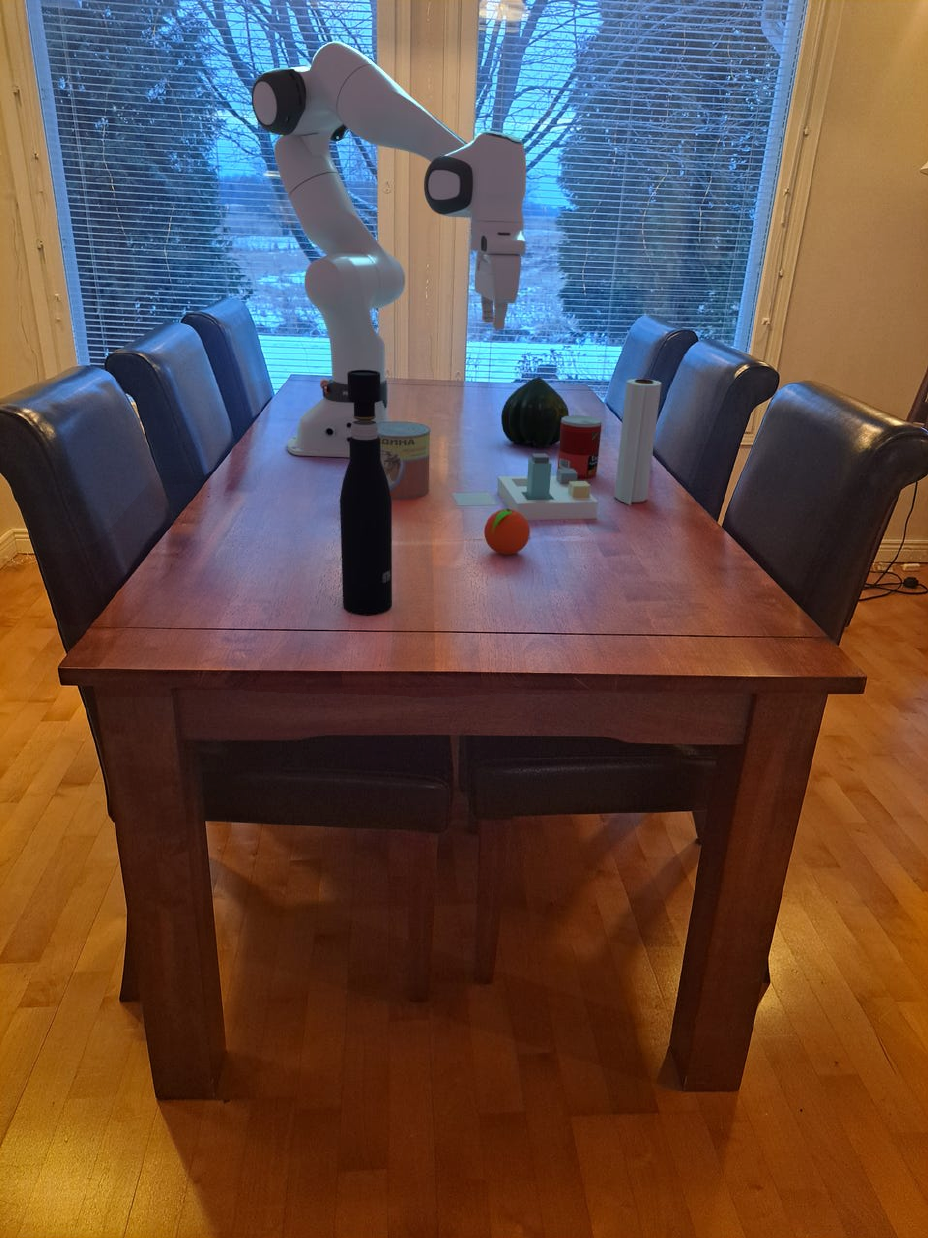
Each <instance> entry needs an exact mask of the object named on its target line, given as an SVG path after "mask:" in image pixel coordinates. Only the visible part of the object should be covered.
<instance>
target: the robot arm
mask: <svg viewBox="0 0 928 1238" xmlns="http://www.w3.org/2000/svg"><path fill="white" fill-rule="evenodd" d="M251 90H252V91H251V104H252V105H251V106H252V110H253V114H254V116H255V118H256V120H257V122H258V123H259V125H260V127H261V128H262V129H263V130H264V131H266V132H268V133H270V134H274V135H276V136H279V137H278V138H277V139H276V142H275V144H274V150H273V152H274V154H273V155H274V158H275V162H276V166H277V170H278V174H279V176H280V179H281V183H282V185H283V188H284V191H285V193H286V195H287V197H288V199H289V201H290V205H291V206H292V209H293V211H294V214H295V215H296V217H297V220H298V222H299V225H300V226H301V228H302V231H303V234H305V236H306V237H307V239H308V240H309V241H310V242H311V243H312V244H314V245H316V247H318V248H319V249H320V250H321V251H322V252H323V253H324V254H325V255H324V256H321V257H320V258H317V259H316V260H314V261H312V262H311V263H310V264H309V266H308V267H307V269H306V271H305V275H304V289H305V293H306V295H307V296H306V297H307V298H308V299H309V302H310V303H311V304H312V305H313V306H314V307H315V308H316V309H317V310H318V312H319V313H320V315H321V317H322V319H323V322H324V324H325V327H326V331H327V335H328V339H329V345H330V346H329V347H330V359H331V361H330V362H331V379H329V380H328V379H327V378H322V379H321V380H320V382H319V387H320V388H321V389H322V397H323V398H322V399H320V400H319V401H318V402H317V403H315V404H314V405H313V406H312V407H310V408H308V410H306V411H305V412H304V413H303V414H302V416H301V417H300V419H299V422H298V425H297V431H296V435H295V436H292V437H290V438H289V439H288V441H287V443H286V444H287V446H286V447H287V451H288V452H289V453H290V454H292V455H295V456H307V457H310V456H311V457H331V458H333V457H335V458H350V449H349V438H350V437H351V436H352V434H351V431H352V428H351V425H352V422H353V421H355V420H357V419H355V418H354V417H353V415H354V402H350V401H348V382H347V373H348V372H349V371H353V370H373V371H377V372H379V373H380V386H381V396H380V397H381V400H380V401H379V402H376V403H375V415H376V417H375V418H374V419H372V420H373V421H376V422H377V423H381V422H388V415H387V408H388V404H389V400H388V399H389V390H388V389H389V388H388V382H387V380H386V356H385V355H386V347H385V342H384V339H382V337H381V335H380V334H378V333H377V331H376V329H375V327H374V324H373V319H372V316H371V315H372V314H371V310H375V309H381V308H384V307H386V306H389V305H390V304H392V303H394V302H395V301H397V300H398V299H400V297H401V296H402V295H403V292H404V290H405V287H406V275H405V270H404V268H403V266H402V264H401V263H400V261H399V260H398V259H397V258H395V257H394V256H392V255H391V254H390V253H388V252H387V251H386V250H385V249H384V248H383V247H382V245H381V244H380V243H379V241H378V240H377V239H376V237H375V236H374V235H373V234H372V232H371V231H370V230H369V228H368V227H367V225H366V224H365V223H364V221H363V220H362V218H361V216H360V215H359V213H358V211H357V210H356V208H355V206H354V203H353V201H352V199H351V197H350V194H349V192H348V191H347V189H346V186H345V183H344V182H343V179H342V177H341V175H340V173H339V171H338V169H337V166H336V165H335V162H334V160H333V158H332V155H331V151H330V143H331V142H330V141H333V142H339V141H341V140H342V139H343V138H344V136H345V134H346V132H347V131H348V130H349V131H350V132H352V133H353V134H354V135H356V136H358V137H359V138H360V139H362V140H364V141H366V142H367V143H369V144H372V145H375V146H380V147H385V148H389V149H396V150H400V151H403V152H404V151H405V152H408V153H412V154H415V155H417V156H420V157H422V158H424V159H426V160H427V161H429V162H430V164H429V165H428V167H427V170H426V171H425V174H424V180H423V190H424V191H423V192H424V195H425V199H426V202H427V203H428V205H429V206H428V207H430V208H431V210H432V211H434V213H436V214H439V215H442V216H444V217H448V218H449V217H452V218H464V219H465V218H470V219H471V223H470V251H475V252H476V258H475V270H474V271H475V272H474V291H475V293H477V294H478V295H480V302H481V303H480V304H481V309H482V311H481V312H482V319H481V320H482V322H484V323H486V324H487V323H488V324H490V323H492V328H493V329H494V330H498V331H499V330H500V331H501V330H502V331H503V330H504V329H505V323H506V322H505V320H506V317H507V313H508V308H509V307H508V304H514V303H516V300H517V299H518V298H517V297H518V296H519V295H518V294H519V287H520V280H521V278H520V277H521V272H522V271H521V270H522V255H525V253H526V244H527V242H526V240H525V237H524V222H525V221H524V214H523V203H524V200H525V199H524V198H525V196H526V185H527V184H526V183H527V158H526V150H525V146H524V143H523V140H521V139H520V138H519V137H518V136H515V135H514V134H509V133H504V132H499V131H495V130H483V131H480V132H477V134H476V135H475V137H473V140H471V141H470V142H469V143H468V142H466V140H465V139H463V138H462V137H461V136H459V135H458V134H457V133H455V132H454V131H453V130H451V128H450V127H448V126H446V125H445V124H444V123H443V122H441V121H440V120H439V119H438V118H436V117H435V116H434V115H433V114H431V113H430V111H429V112H428V110H427V109H425V108H424V107H423V106H422V105H421V104H420V103H419V102H418V101H416V100H415V99H414V98H413V97H412V96H411V95H409V94H408V93H407V92H406V90H404V89H403V87H401V86H400V85H399V84H398V83H397V82H396V81H395V80H393V79H392V78H391V77H390V75H388V74H387V73H386V72H385V71H384V70H383V69H382V68H381V67H379V66H378V64H376V63H375V62H374V61H372V59H371V58H369V57H368V56H366V55H365V54H363V53H362V52H361V51H359V50H357V49H356V48H354V47H352V46H350V45H348V44H346V43H344V42H342V41H330V42H328V43H326V44H324V45H322V46H321V47H320V48H319V49H318V50H317V51H316V52H315V54H314V56H313V58H312V61H311V64H310V65H300V66H294V67H287V68H285V67H276V68H272V69H269V70H267V71H264V72H262V73H261V74H259V75H258V76H257V77H256V79H255V81H254V83H253V86H252V89H251Z"/></svg>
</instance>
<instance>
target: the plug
mask: <svg viewBox="0 0 928 1238" xmlns="http://www.w3.org/2000/svg"><path fill="white" fill-rule="evenodd" d="M527 463H528V464H527V475H526V476H527V491H526V499H527V500H549V491H550V478H551V476H552V463H551V462H550V456H549V455H548V454H546V453H531V458H528V462H527Z"/></svg>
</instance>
